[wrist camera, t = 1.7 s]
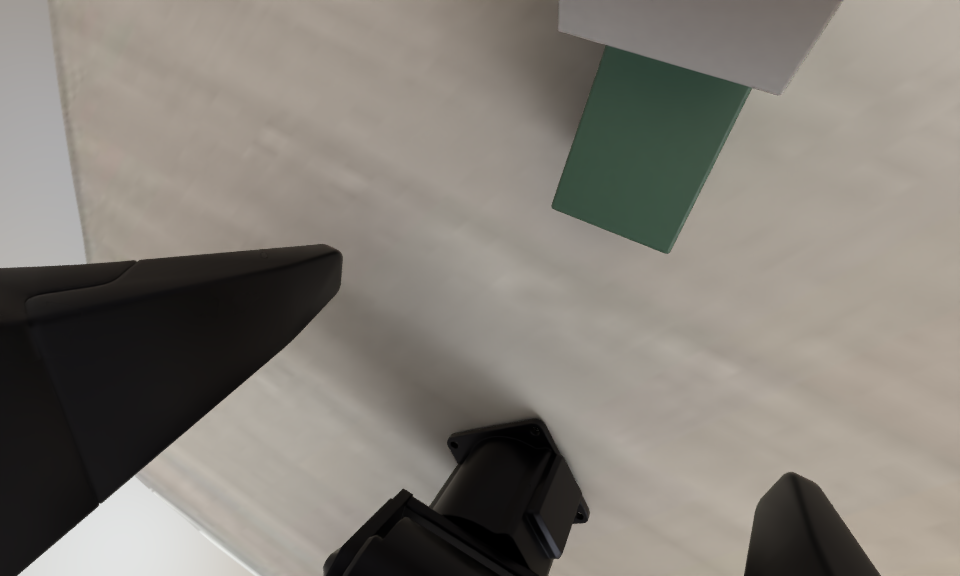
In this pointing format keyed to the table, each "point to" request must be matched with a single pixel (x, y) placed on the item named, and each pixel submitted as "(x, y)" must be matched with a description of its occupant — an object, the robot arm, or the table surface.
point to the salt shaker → (708, 34)
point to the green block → (646, 146)
